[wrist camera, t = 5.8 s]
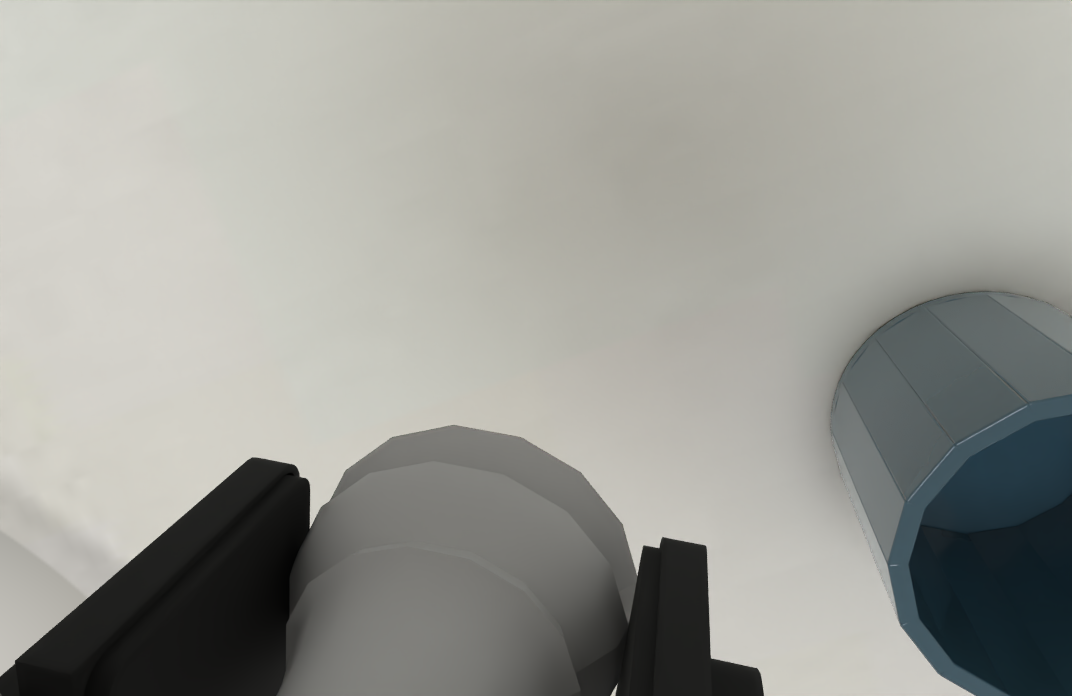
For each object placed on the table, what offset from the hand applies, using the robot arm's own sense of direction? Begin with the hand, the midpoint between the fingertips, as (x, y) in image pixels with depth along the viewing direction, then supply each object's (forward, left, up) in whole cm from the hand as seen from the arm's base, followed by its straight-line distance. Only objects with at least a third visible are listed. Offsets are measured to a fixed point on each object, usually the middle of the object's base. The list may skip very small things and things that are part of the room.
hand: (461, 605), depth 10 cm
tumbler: (-7, +11, -19) cm, 23 cm away
